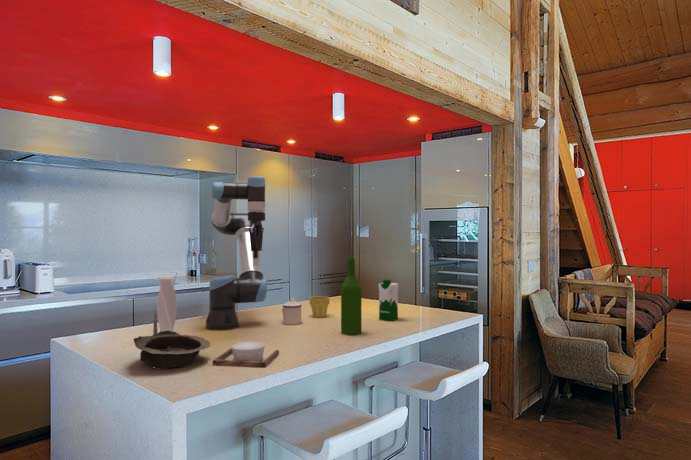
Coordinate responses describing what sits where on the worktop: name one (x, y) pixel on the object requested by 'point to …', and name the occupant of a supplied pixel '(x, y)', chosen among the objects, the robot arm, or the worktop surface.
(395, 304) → the milk carton
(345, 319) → the wine bottle
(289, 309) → the teacup with lid
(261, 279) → the robot arm
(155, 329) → the skyscraper
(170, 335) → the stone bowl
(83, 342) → the worktop surface
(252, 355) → the ramekin
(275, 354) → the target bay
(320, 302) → the plant pot
